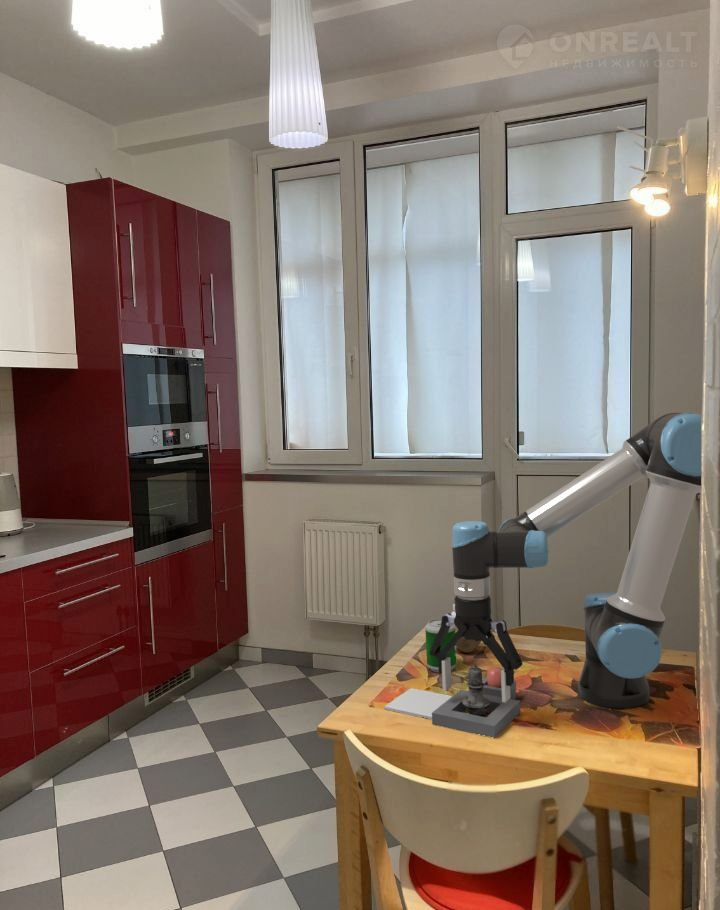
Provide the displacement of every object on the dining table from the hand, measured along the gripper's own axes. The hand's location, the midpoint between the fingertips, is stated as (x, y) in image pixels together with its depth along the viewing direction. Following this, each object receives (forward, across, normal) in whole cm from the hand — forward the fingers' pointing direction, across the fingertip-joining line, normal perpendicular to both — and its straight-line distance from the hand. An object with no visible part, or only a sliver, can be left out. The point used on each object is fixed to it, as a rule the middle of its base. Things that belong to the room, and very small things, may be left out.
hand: (476, 694), depth 158 cm
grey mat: (+5, -14, +1) cm, 15 cm away
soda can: (+5, -20, +23) cm, 31 cm away
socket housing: (+5, 0, +3) cm, 6 cm away
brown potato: (+5, -20, +37) cm, 42 cm away
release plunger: (+4, 0, +10) cm, 11 cm away
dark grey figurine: (+5, 0, 0) cm, 5 cm away
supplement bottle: (+5, -26, +47) cm, 54 cm away
